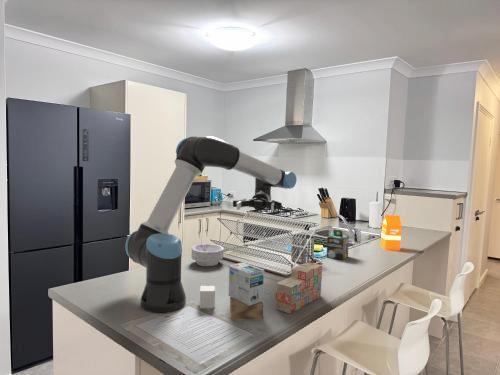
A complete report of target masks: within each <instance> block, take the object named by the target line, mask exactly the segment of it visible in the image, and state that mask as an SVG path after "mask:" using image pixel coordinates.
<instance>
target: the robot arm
mask: <svg viewBox="0 0 500 375" xmlns="http://www.w3.org/2000/svg"><path fill="white" fill-rule="evenodd" d="M175 153H176V158H175V160H174V163H175V168H174V170H173V171H172V174H171V176H170V178H169V180H168V181H167V183H166V184H165V187H164V189H163V191H162V192H161V195H160V196H159V198H158V200H157V202H156V204H155V206H154V207H153V209H152V211H151V212H150V215H149V217H148V219H147V220H146V221H144V222H141V223H140V225H139V227H138V229H137V230H135V231H133V232H131V233H130V234H129V235H128V236H127V238H126V240H125V245H124V246H125V247H124V249H125V252H126V255H127V257H128V258H130V259H131V261H133V263H136V264H137V265H138V264H139V265H140V266H142V267H144V268H146V270H145V271H146V274H145V275H146V276H145V277H146V279H145V280H146V281H145V282H146V283H145V286H144V289H143V292H142V294H141V297H140V307H141V309H143V310H144V311H147V312H151V313H169V312H174V311H177V310H179V309H182V308H183V307H184V306H185V305H186V301H187V297H186V292H185V290H184V287H183V283H182V253H183V247H182V240H181V239H180V238H179V237H178V236H177V235H174V234H170V233H169V231H170V230H169V229H170V227H171V226H172V224H173V222H174V220H175V218H176V216H177V214H178V212H179V210H180V208H181V206H182V204H183V203H184V200H185V198H186V196H187V194H188V193H189V190H190V189H191V186H192V185H193V182H194V181H195V179H196V177H198V176H201V175H202V173H203V171H204V169H205V167H211V168H221V169H225V170H226V171H227V170H228V171H230V170H234V171H237V172H238V173H239V172H240V173H242V174H244V175H248V176H249V177H253V178H255V179H254V180H255V181H254V182H255V186H254V194H253V196H251V198H249V199H247V198H242V199H235V200H233V201H232V207H233V208H236V211H238V210H240V209H241V208H245V207H249V208H253V209H254V210H257V211H264V210H265V209H267V208H269V209H270V212H274V211H275V210H277V209H278V210H282V205H283V203H282V202H279V201H277V200H275V199H274V200H273V199H272V195H271V192H272V188H280V189H286V190H287V189H289V190H290V189H294V187H295V185H296V184H297V175H296V173H294V172H293V171H288V170H286V171H285V170H283V169H280V168H278V167H276V166H273V165H271V164H269V163H267V162H265V161H262V160H261V159H258V158H256V157H254V156H251V155H249V154H247V153H246V152H243V151H241V150H240V148H239V147H238V146H235V145H233V144H232V143H230V142H227V141H225V140H223V139H220V138H218V137H215V136H210V135H207V136H189V137H186V138H183V139H182V140H181V141H179V142H178V144H177V146H176V148H175Z"/></svg>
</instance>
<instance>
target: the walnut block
mask: <svg viewBox="0 0 500 375" xmlns="http://www.w3.org/2000/svg"><path fill="white" fill-rule="evenodd" d="M229 309H230V317H231V321H248V320H249V321H250V320H252V321H256V320H257V321H258V320H262V321H263V320H264V301H262V302H259V303H256V304H253V305H250V306H249V305H247V304H245V303H243V302H240V301H238V300H236V299H234V298H232V297H230V296H229Z"/></svg>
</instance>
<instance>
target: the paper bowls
mask: <svg viewBox="0 0 500 375" xmlns="http://www.w3.org/2000/svg"><path fill="white" fill-rule="evenodd" d="M224 250H225V249H224V247H223V246H221V245H218V244H214V243H201V244H200V243H199V244H195V245H193V246H192V247H191V255H190V256H191V259H192V260H193V261H195V263H196V264H197V265H199V266H200V267H213V266H216V265H218V263H219V262H220V261H221V260H223V258H224Z"/></svg>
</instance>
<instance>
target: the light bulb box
mask: <svg viewBox="0 0 500 375" xmlns="http://www.w3.org/2000/svg"><path fill="white" fill-rule="evenodd" d="M228 265H229V264H228ZM228 269H229V270H228V271H229V272H228V297H229V298H230V297H232V298H234V299H236V300H238V301H240V302H243V303H245V304H247V305H249V306H250V305H253V304H256V303H259V302H264V299H265V295H264V294H265V269H264V268H261V267H258V266H254V265H251V264H248V263H246V262H244V261H243V262H239V263H238V262H237V263H235V264H230V265H229V267H228Z"/></svg>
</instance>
